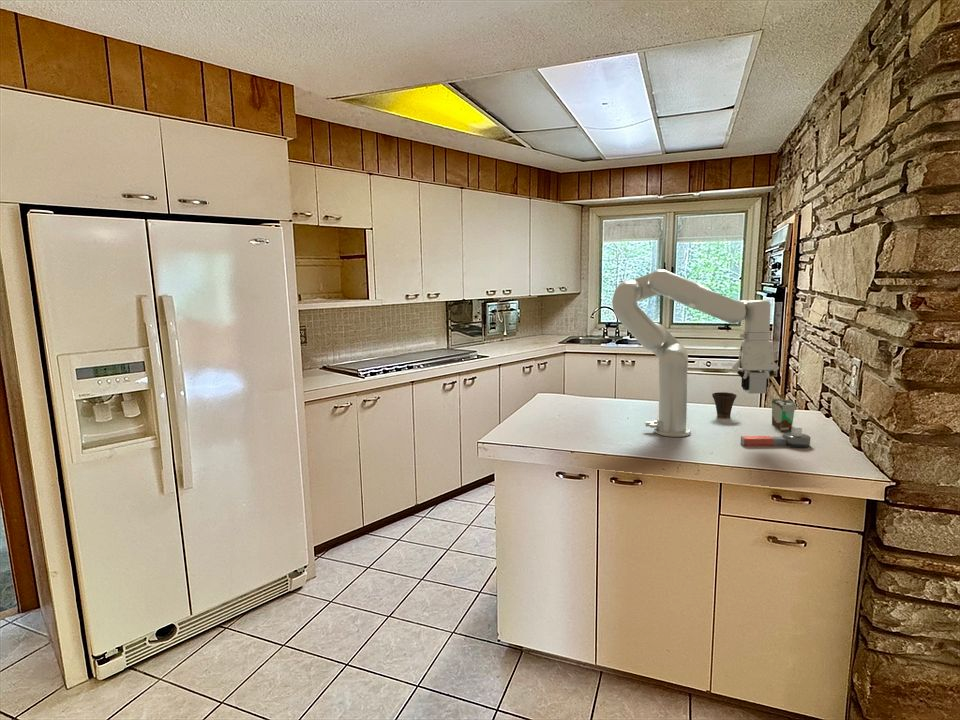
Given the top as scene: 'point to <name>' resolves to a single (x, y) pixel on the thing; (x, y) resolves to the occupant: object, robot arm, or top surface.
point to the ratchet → (779, 440)
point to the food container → (783, 414)
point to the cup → (724, 403)
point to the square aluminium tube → (756, 382)
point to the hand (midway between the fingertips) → (754, 388)
